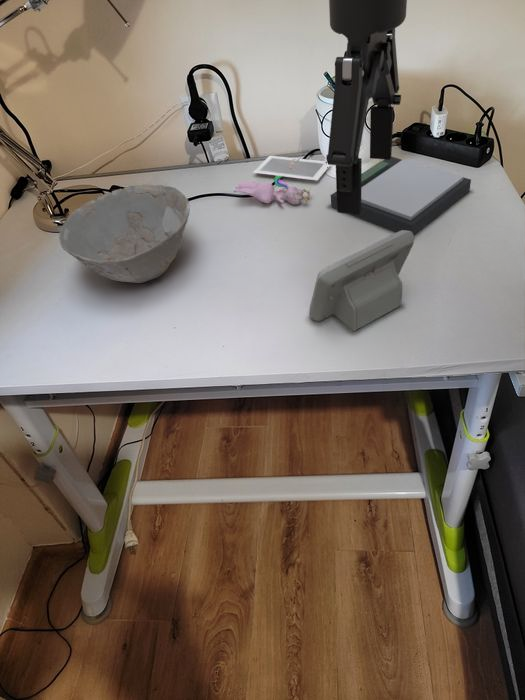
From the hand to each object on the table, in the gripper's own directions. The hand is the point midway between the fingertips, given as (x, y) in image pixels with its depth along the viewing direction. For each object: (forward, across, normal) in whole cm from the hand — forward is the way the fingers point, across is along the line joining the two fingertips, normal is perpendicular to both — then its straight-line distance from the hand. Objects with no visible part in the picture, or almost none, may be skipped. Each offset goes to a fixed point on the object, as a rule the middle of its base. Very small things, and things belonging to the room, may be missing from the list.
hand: (365, 183), depth 64 cm
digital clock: (+19, +2, 0) cm, 19 cm away
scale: (+19, -29, -2) cm, 35 cm away
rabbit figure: (+19, -24, -26) cm, 40 cm away
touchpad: (+19, -36, -26) cm, 48 cm away
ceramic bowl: (+19, +2, -40) cm, 45 cm away
